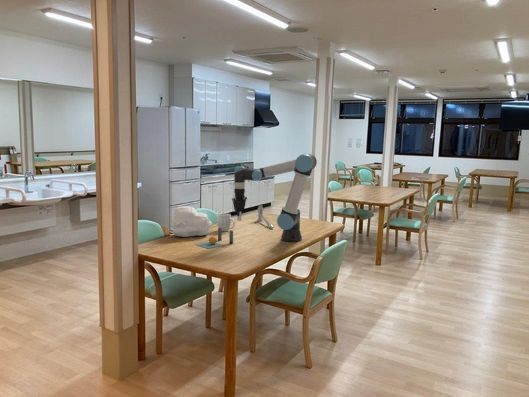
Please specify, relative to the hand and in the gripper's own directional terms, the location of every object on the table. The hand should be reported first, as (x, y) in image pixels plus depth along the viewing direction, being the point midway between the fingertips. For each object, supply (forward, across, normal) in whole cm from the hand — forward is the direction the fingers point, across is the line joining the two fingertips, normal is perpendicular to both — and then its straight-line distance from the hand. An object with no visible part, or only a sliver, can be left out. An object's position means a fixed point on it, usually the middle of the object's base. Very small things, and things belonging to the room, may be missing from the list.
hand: (239, 220), depth 318 cm
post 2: (+14, +13, +6) cm, 20 cm away
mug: (+14, -11, -29) cm, 34 cm away
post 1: (+14, +13, -6) cm, 20 cm away
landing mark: (+14, +27, 0) cm, 30 cm away
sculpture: (+14, +17, -34) cm, 41 cm away
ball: (+11, +24, -1) cm, 26 cm away
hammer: (+14, -54, -26) cm, 61 cm away
